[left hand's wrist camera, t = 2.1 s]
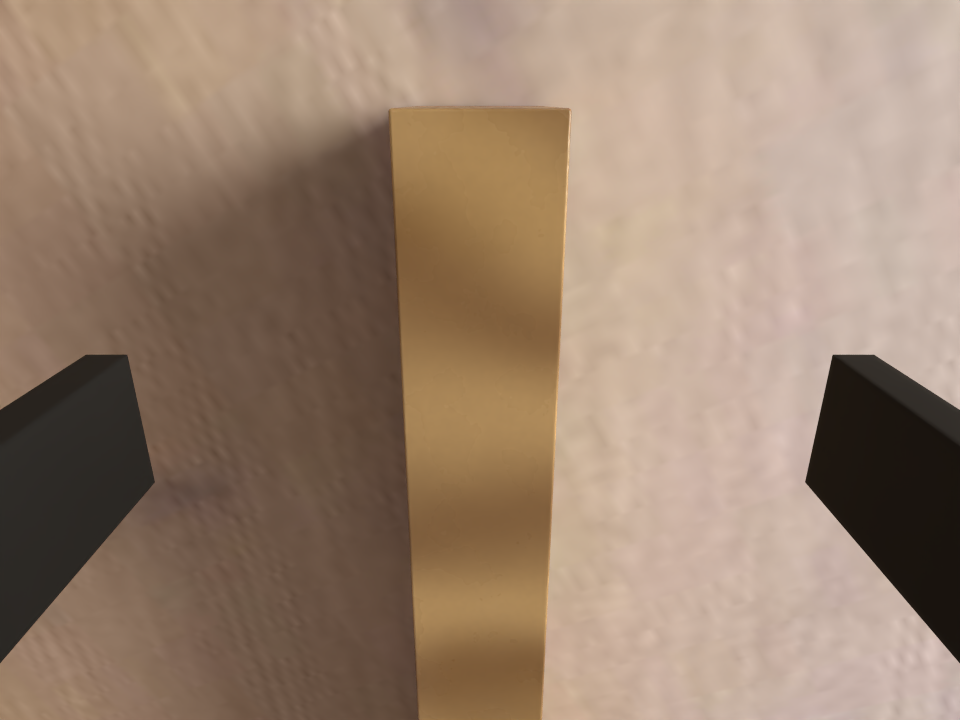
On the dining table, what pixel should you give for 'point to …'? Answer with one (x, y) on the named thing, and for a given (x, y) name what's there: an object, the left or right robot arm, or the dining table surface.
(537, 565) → the bar
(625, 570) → the dining table surface
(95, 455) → the left robot arm
